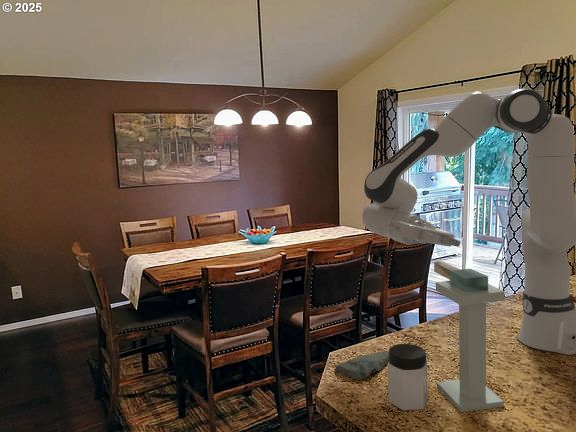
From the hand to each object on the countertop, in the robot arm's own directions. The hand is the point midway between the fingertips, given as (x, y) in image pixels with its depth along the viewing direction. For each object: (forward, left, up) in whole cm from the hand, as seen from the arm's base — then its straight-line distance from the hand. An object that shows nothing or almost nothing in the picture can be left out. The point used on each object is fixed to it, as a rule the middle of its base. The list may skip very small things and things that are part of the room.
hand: (449, 242), depth 119 cm
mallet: (+6, +14, -6) cm, 17 cm away
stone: (+23, 0, -33) cm, 40 cm away
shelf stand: (+6, +20, -32) cm, 38 cm away
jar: (+20, +18, -32) cm, 42 cm away
